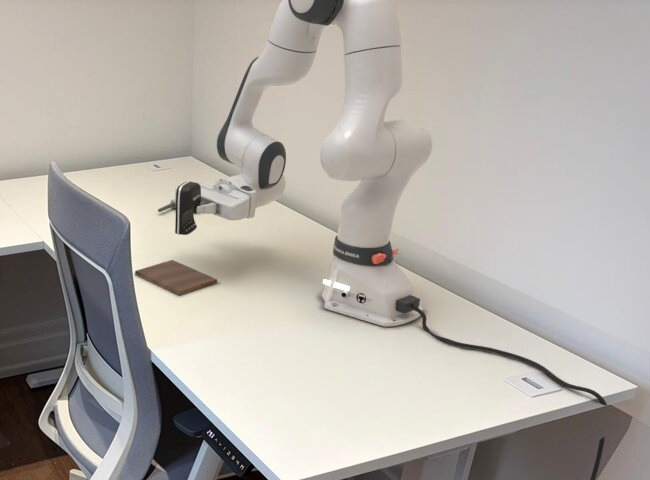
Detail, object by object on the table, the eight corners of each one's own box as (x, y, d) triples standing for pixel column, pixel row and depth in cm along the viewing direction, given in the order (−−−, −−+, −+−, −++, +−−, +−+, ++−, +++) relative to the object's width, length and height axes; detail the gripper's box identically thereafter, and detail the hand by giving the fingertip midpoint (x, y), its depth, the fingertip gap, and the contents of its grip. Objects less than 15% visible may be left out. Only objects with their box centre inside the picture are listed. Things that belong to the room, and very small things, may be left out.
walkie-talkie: (192, 197, 259) (155, 214, 245) (192, 183, 256) (155, 199, 243) (217, 203, 254) (180, 220, 240) (218, 188, 252) (181, 205, 238)
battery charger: (188, 237, 197) (190, 188, 191) (174, 234, 198) (175, 186, 193) (201, 228, 202) (203, 181, 196) (186, 226, 204) (188, 178, 198)
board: (216, 283, 201) (217, 279, 201) (179, 295, 195) (179, 291, 194) (172, 263, 212) (172, 259, 212) (135, 274, 206) (135, 270, 205)
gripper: (200, 173, 210) (158, 183, 202) (261, 192, 196) (217, 204, 189) (199, 198, 213) (157, 209, 206) (259, 219, 199) (216, 231, 192)
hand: (186, 207), depth 197 cm, fingers closed on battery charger, 5 cm apart
